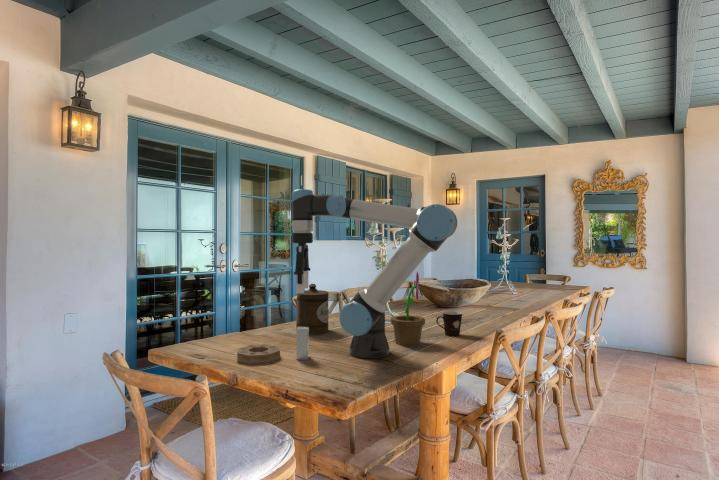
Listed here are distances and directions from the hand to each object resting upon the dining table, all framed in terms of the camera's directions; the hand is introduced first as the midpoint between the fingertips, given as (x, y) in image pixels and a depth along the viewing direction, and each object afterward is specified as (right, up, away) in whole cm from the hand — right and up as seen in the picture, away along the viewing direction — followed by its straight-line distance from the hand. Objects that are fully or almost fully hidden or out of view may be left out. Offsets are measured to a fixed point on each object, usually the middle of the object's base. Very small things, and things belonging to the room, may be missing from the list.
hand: (302, 290), depth 165 cm
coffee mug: (+61, -24, +38) cm, 76 cm away
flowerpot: (+41, -25, +23) cm, 53 cm away
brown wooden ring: (-16, -25, 0) cm, 29 cm away
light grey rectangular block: (0, -25, 0) cm, 25 cm away
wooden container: (-1, -24, +45) cm, 51 cm away
